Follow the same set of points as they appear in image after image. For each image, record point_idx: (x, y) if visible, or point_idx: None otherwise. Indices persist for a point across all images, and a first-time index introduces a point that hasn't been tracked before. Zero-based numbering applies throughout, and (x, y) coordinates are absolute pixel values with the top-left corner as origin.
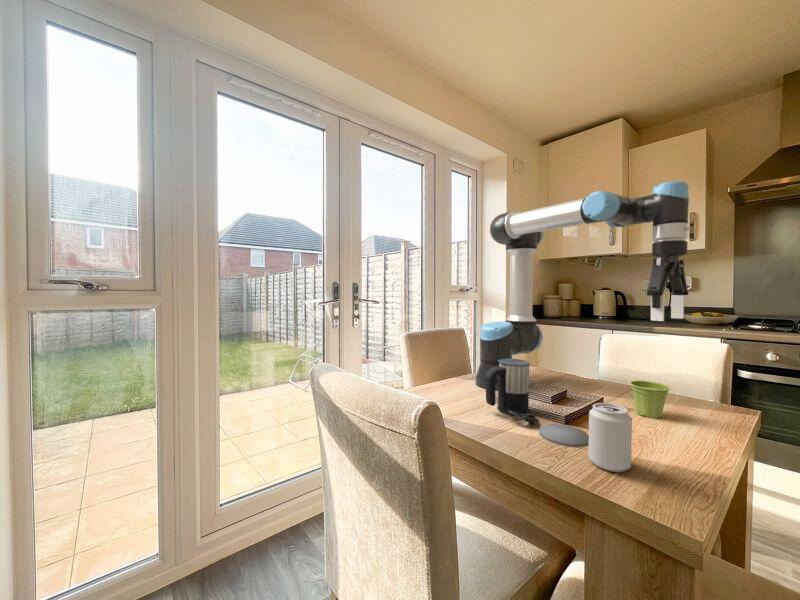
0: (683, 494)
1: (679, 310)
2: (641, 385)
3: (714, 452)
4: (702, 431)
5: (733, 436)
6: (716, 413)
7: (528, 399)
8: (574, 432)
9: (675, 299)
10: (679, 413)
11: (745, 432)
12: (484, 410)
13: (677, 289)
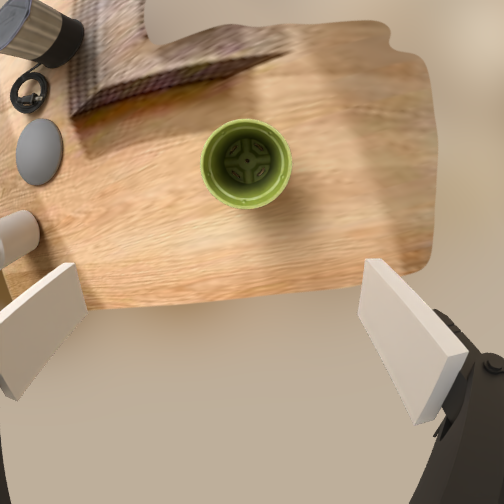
0: None
1: (377, 327)
2: (272, 135)
3: (158, 286)
4: (236, 252)
5: (254, 285)
6: (371, 236)
7: (55, 53)
8: (45, 158)
9: (417, 358)
10: (313, 194)
11: (293, 290)
12: None
13: (441, 447)
